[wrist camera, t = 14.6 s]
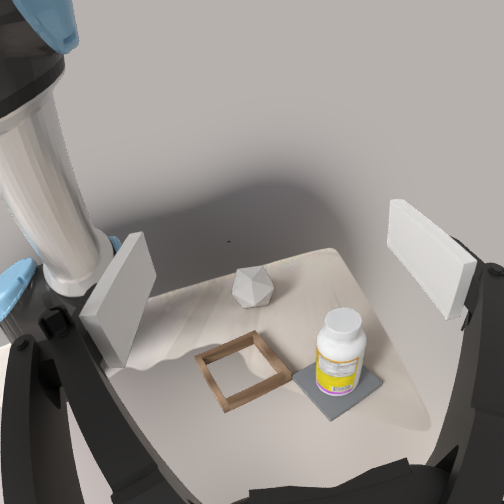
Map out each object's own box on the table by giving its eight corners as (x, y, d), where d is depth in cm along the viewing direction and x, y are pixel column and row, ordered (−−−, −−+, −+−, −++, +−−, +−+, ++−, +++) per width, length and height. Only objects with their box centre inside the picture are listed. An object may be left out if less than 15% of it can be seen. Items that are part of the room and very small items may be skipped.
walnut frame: (197, 363, 48) (194, 356, 47) (256, 338, 52) (254, 330, 52) (224, 413, 39) (221, 406, 38) (291, 380, 43) (291, 372, 42)
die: (275, 290, 65) (247, 256, 64) (290, 292, 57) (258, 254, 56) (248, 315, 64) (218, 281, 62) (258, 322, 55) (224, 283, 54)
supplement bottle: (333, 357, 45) (338, 295, 39) (366, 376, 40) (380, 314, 34) (305, 383, 41) (305, 322, 35) (340, 405, 37) (350, 347, 31)
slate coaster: (292, 378, 44) (291, 375, 43) (341, 349, 47) (341, 346, 47) (330, 421, 36) (331, 419, 35) (381, 385, 39) (382, 382, 39)
